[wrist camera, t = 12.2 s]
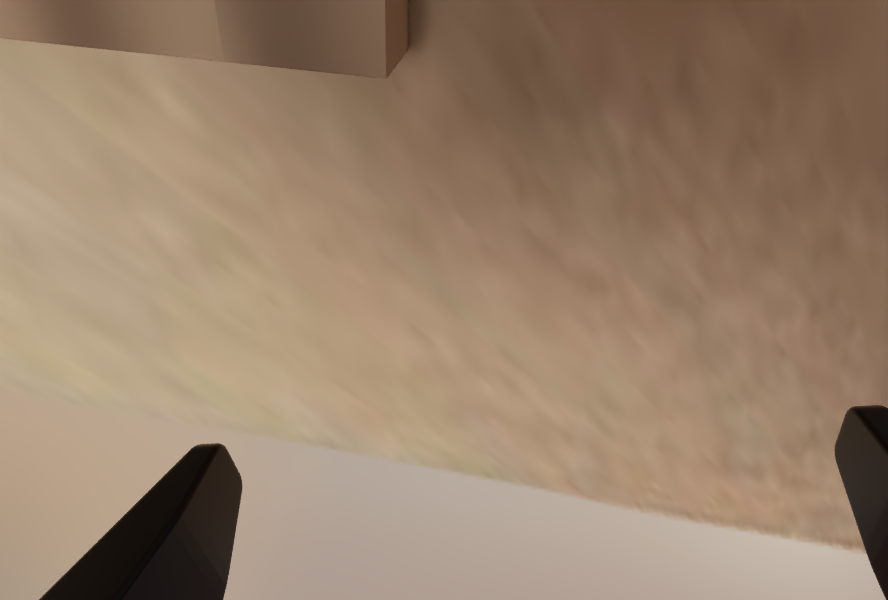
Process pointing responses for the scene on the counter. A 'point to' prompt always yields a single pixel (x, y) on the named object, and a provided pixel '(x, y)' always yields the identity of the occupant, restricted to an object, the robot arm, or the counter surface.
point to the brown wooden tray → (225, 30)
